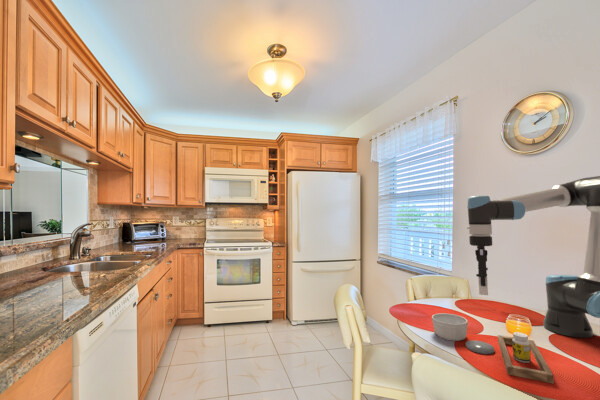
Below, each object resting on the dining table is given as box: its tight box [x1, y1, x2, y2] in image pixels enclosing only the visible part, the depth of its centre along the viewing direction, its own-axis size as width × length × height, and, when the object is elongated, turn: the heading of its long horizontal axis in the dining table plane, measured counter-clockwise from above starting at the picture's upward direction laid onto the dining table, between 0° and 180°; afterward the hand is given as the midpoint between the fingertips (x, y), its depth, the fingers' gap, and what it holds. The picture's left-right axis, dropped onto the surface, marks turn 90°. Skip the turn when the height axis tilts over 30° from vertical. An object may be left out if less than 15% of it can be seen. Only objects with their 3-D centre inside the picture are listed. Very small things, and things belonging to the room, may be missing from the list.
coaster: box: [465, 339, 495, 355], centre depth 105 cm, size 9×9×1 cm
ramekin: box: [431, 312, 469, 342], centre depth 117 cm, size 13×13×7 cm
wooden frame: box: [497, 334, 555, 385], centre depth 97 cm, size 11×26×2 cm, turn 151°
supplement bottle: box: [511, 331, 532, 364], centre depth 97 cm, size 5×5×8 cm
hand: (483, 290), depth 110 cm, fingers open, 13 cm apart
